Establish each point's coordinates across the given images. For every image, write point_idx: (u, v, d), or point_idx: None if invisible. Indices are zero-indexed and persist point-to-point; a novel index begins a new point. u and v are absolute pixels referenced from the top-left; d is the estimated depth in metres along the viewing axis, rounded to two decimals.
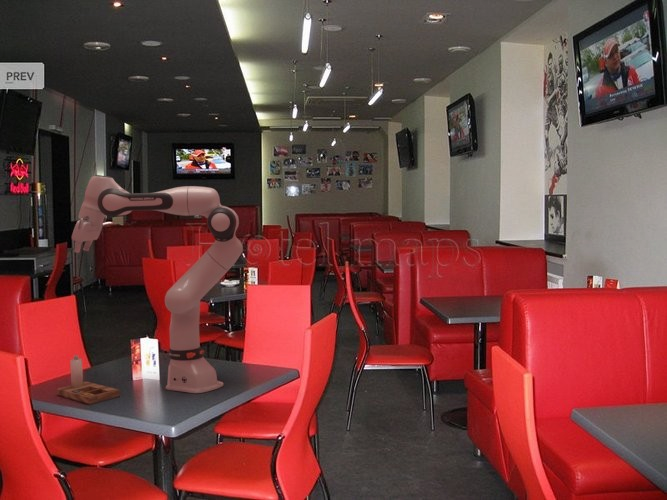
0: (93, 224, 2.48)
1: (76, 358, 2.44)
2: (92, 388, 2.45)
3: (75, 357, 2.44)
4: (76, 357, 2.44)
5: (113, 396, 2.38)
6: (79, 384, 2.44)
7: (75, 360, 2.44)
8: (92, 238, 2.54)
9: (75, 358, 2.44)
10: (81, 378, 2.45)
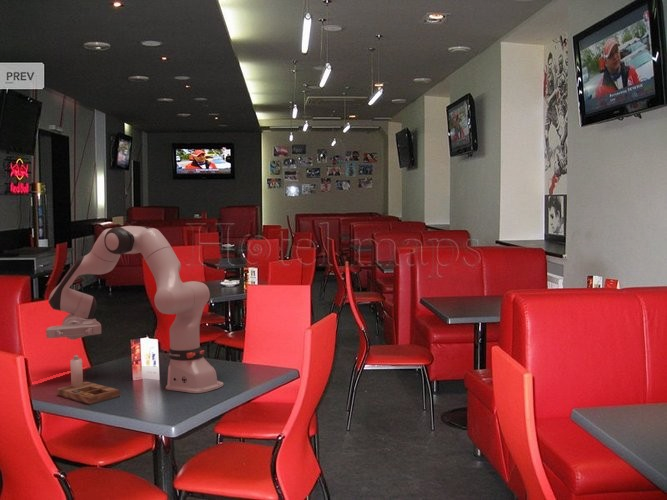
0: (67, 323, 2.65)
1: (76, 358, 2.44)
2: (92, 388, 2.45)
3: (75, 357, 2.44)
4: (76, 357, 2.44)
5: (113, 396, 2.38)
6: (79, 384, 2.44)
7: (75, 360, 2.44)
8: (81, 326, 2.62)
9: (75, 358, 2.44)
10: (81, 378, 2.45)
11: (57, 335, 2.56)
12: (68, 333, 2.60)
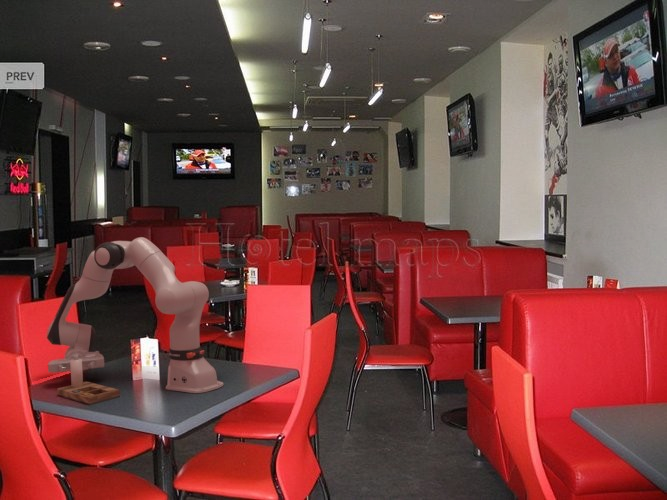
0: (70, 357, 2.61)
1: (76, 358, 2.44)
2: (92, 388, 2.45)
3: (75, 357, 2.44)
4: (76, 357, 2.44)
5: (113, 396, 2.38)
6: (79, 384, 2.44)
7: (75, 360, 2.44)
8: (84, 359, 2.58)
9: (75, 358, 2.44)
10: (81, 378, 2.45)
11: (59, 369, 2.52)
12: (70, 367, 2.56)
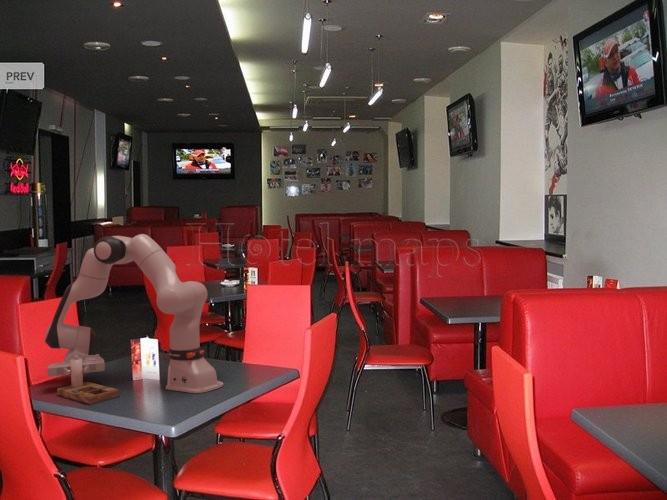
0: (69, 360, 2.54)
1: (76, 358, 2.44)
2: (92, 388, 2.45)
3: (75, 357, 2.44)
4: (76, 357, 2.44)
5: (113, 396, 2.38)
6: (79, 384, 2.44)
7: (75, 360, 2.44)
8: (84, 363, 2.51)
9: (75, 358, 2.44)
10: (81, 378, 2.45)
11: (64, 373, 2.46)
12: None
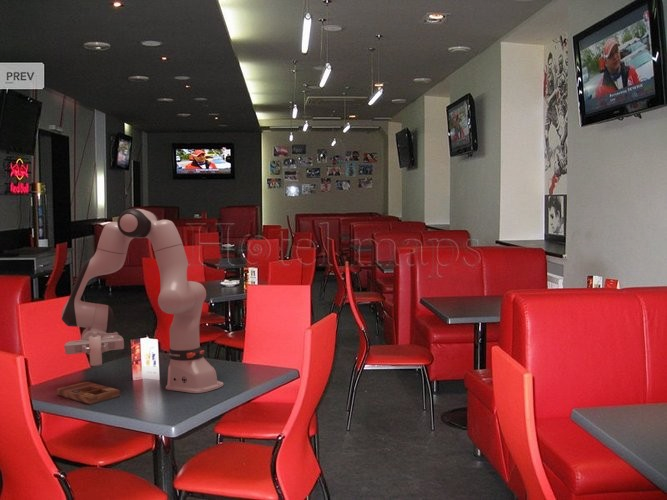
0: (87, 338, 2.46)
1: (95, 335, 2.36)
2: (92, 388, 2.45)
3: (94, 334, 2.36)
4: (95, 334, 2.36)
5: (113, 396, 2.38)
6: (98, 361, 2.36)
7: (94, 337, 2.35)
8: (103, 340, 2.42)
9: (94, 335, 2.36)
10: (100, 356, 2.36)
11: (83, 350, 2.37)
12: None
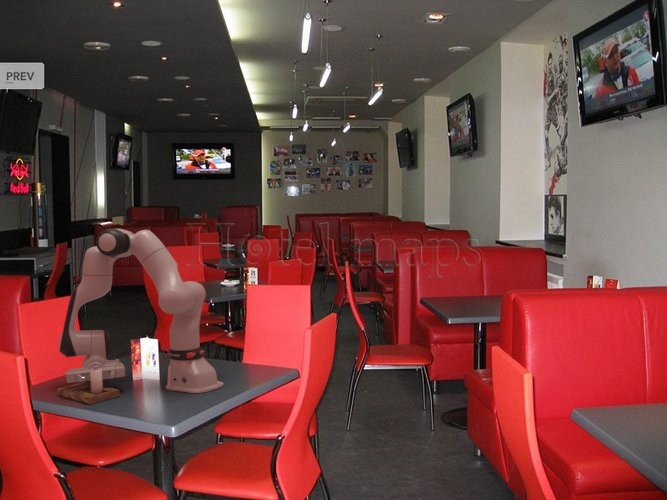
0: (88, 365, 2.46)
1: (96, 368, 2.37)
2: None
3: (95, 367, 2.36)
4: (96, 367, 2.37)
5: (113, 396, 2.38)
6: None
7: (95, 370, 2.36)
8: (104, 368, 2.43)
9: (95, 368, 2.37)
10: (101, 389, 2.37)
11: (78, 380, 2.37)
12: None
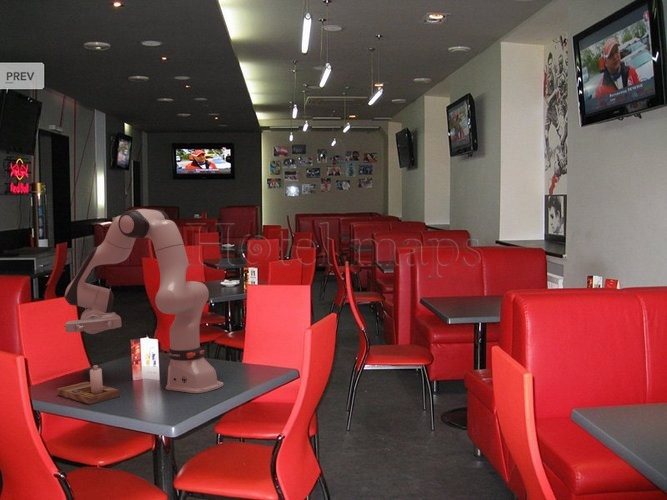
0: (86, 318, 2.59)
1: (96, 368, 2.36)
2: None
3: (95, 367, 2.36)
4: (96, 367, 2.36)
5: (113, 396, 2.38)
6: None
7: (95, 370, 2.36)
8: (101, 319, 2.55)
9: (95, 368, 2.36)
10: (101, 389, 2.37)
11: (77, 329, 2.50)
12: (88, 327, 2.54)
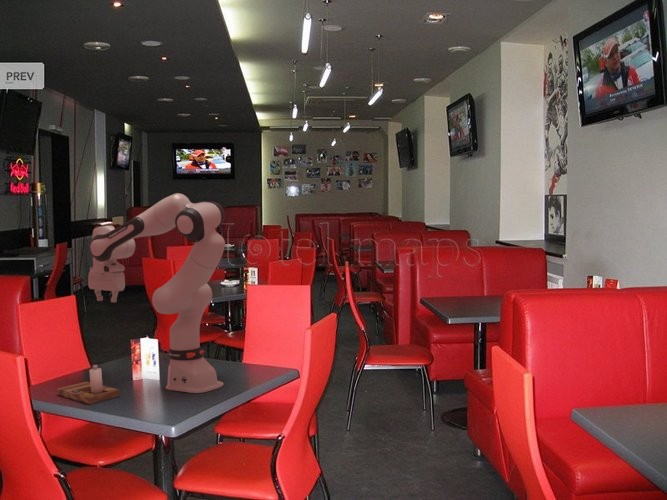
0: None
1: (95, 368, 2.37)
2: None
3: (94, 367, 2.37)
4: (95, 367, 2.37)
5: (113, 396, 2.38)
6: None
7: (95, 370, 2.36)
8: (106, 288, 2.60)
9: (94, 368, 2.37)
10: (101, 388, 2.37)
11: None
12: None
